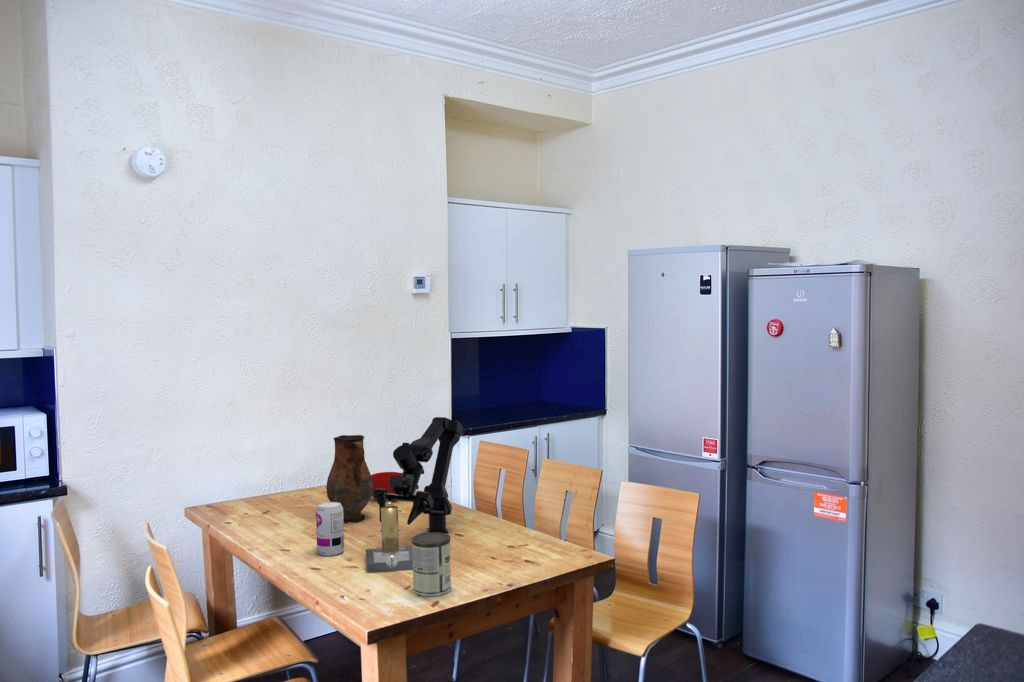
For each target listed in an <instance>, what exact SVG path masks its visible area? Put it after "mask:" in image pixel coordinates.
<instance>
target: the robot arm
mask: <svg viewBox="0 0 1024 682" xmlns="http://www.w3.org/2000/svg"><path fill="white" fill-rule="evenodd" d="M463 430H464V427H463V424H462V423H461V422H460V421H459V420H453V419H450V418H448V417H446V416H445V417H443V416H435V417H434V418H433V417H432V420H431V423H430V425H429V426H428V427H427V429H425V431H424V432H423V434H422V435H421V437H420V438H417V439H415V440H413V441H411V443H409V442H402V444H401V445H399V446H397V447H396V448H395V449H394V450H393V452H392V457H393V458H394V460H395V461H396V464H397V465H398V466H399V468H400V469H401V470H402V472H401V473H402V475H401V476H395V475H390V479H389V485H388V486H391V487H393V488H392V490H393V491H395V494H389V492H388V491H387V489H380V488H376V489H374V491H373V493H372V498H373V499H374V500H375V502H376V503H377V504H378V507H379V509H378V510H379V522H380V523H381V507H384V506H385V502H388V501H391V500H395V501H398V502H408V503H409V502H410V503H412V508H411V510H410V512H409V515H408V518H407V522H406V523H407V525H408V526H409V525H411V523H413V522H414V521H415V520H416V519H417V518H418V517H419V516H420V515H421V514H423V515H428V527H427V528H426V530H427V533H429V532H438V533H445V534H448V533H449V530H448V528H447V516H448V515H452V514H451V513H452V510H453V506H452V504H451V502H450V501H449V494H448V491H447V488H446V484H447V479H448V473H449V469H450V464H451V460H452V455H453V450H454V447H455V445H457V444H458V443H459V441H460V439H461V435H462V434H463ZM438 441H439V444H438V445H439V446H438V449H437V450H438V451H437V455H436V458H435V459H436V460H435V465H434V468H433V473H432V479H431V483H430V484H429V485H425V486H424V489H423V491H421V490H419V485H418V484H419V482H420V478H421V475H425V470H424V466H423V465H422V463H428V462H430V459H431V458H432V456H433V453H434V452H433V448H434V446H435V445H436V443H437V442H438ZM416 490H418V491H416Z"/></svg>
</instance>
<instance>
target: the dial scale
mask: <svg viewBox="0 0 1024 682" xmlns="http://www.w3.org/2000/svg"><path fill="white" fill-rule="evenodd" d="M365 562H366V563H365V564H366V573H381V572H392V571H393V572H394V571H404V570H405V571H406V570H413V554H412V546H411V545H409V546H399V551H398V552H390V553H382V546H381V547H378V548H371V549H369V548H367V549H365Z"/></svg>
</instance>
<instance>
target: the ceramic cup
mask: <svg viewBox="0 0 1024 682" xmlns="http://www.w3.org/2000/svg"><path fill="white" fill-rule="evenodd" d="M390 475H395V476H401V475H402V472H399V471H398V472H397V471H382V472H377V473H373V474H371V477H372V481H373V491H374V489H376V488H380V489H387V491H388V492H389V494H395V491H393V490H392V488H393V487H391V486H388V485H389V479H390ZM391 501H392V502H395V501H396V500H391Z"/></svg>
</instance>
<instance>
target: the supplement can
mask: <svg viewBox="0 0 1024 682" xmlns="http://www.w3.org/2000/svg"><path fill="white" fill-rule="evenodd" d="M315 511H316V512H315V513H316V515H315V516H316V517H315V518H316V522H315V523H316V524H315V525H316V552H317V554H319V555H320V556H322V555H323V557H333V556H332V555H334V556H337V554H338V555H341V554H342V553H343V552H344V550H345V535H344V534H345V528H344V527H345V523H344V518H343V507H342V505H341V503H339V502H330V501H326V502H322V503H319V504H318V505H317V507H316V510H315ZM340 553H341V554H340Z"/></svg>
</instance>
